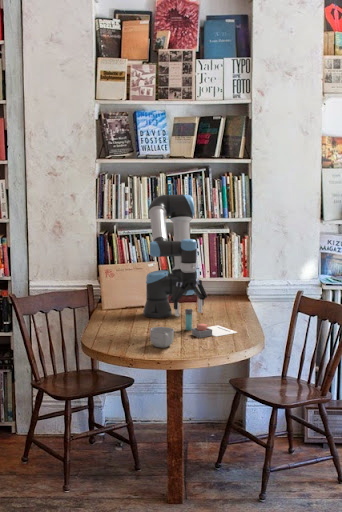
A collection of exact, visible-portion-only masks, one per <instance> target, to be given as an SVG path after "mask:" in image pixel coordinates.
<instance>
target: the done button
mask: <svg viewBox="0 0 342 512" xmlns="http://www.w3.org/2000/svg"><path fill="white" fill-rule="evenodd" d="M207 327H208V324H207V323H198V324H196V328H197V330H199V331H205V330H207Z"/></svg>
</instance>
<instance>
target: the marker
mask: <svg viewBox="0 0 342 512" xmlns="http://www.w3.org/2000/svg"><path fill="white" fill-rule="evenodd" d="M184 310H185V311H184V315H185V316H184V317H185V323H184V325H185V328H184V329H185V331H192V328H193V309H191V308H185V309H184Z"/></svg>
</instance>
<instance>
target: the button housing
mask: <svg viewBox="0 0 342 512" xmlns="http://www.w3.org/2000/svg"><path fill="white" fill-rule="evenodd" d="M191 335H192V336H195V337H197V338H199V339H203V338H207V337H212V336H213V335H212V329H209V328H207V330H205V331H199V330H197V327H192V330H191Z"/></svg>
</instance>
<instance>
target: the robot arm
mask: <svg viewBox="0 0 342 512" xmlns="http://www.w3.org/2000/svg"><path fill="white" fill-rule="evenodd" d="M195 213H196V212H195V204H194V199H193V197H192V195H191V194H183V193H182V194H161V195H158V196H156V197H155V198H154V199H152V201H151V203H149V206H148V209H147V214H148V215H147V217H148V218H149V220H150V225H151V226H150V227H151V237H152V241H150V242H149V245H148V246H149V255H150V257H157V258H160V257H161V258H162V257H165V258H166V257H168V258H169V257H173V258H174V267H173V268H172V269H171V272H169V270H166V269H161V270H159V269H158V270H154V271H151V272H149V273H147V275H146V277H145V278H146V279H145V284H146V291H145V292H146V295H145V296H146V297H145V298H146V300H145V303H144V308H143V313H142V315H143V317H146V318H152V319H155V318H156V319H163V318H168V317H171V316H172V312H173V311H172V307H171V304H170V302H171V303H173V309H174V316H175V317H180V302H179V301H180V300H181V299H182V297H183V296H190V295H191V296H192V295H194V294H196V296H197V297H198V298H197V312H198V313H201V314H202V313H203V306H204V305H205V303H204V300H205V301H206V298H208V295H207V293H206V290H205V289H204V288H205V287H204V285H203V281H202V280H201V279H198V275H197V274H198V272H197V251H198V250H197V248H198V245H197V240H196V239H193V238H191V235H190V234H191V233H190V222H191V221H192V220H193V217H195ZM166 217H170V221H171V222H172V223H173V240H171V241H169V239H168V231H167V224H166V223H167V221H166ZM169 296H171V297H170V300H169ZM169 301H170V302H169Z"/></svg>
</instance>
